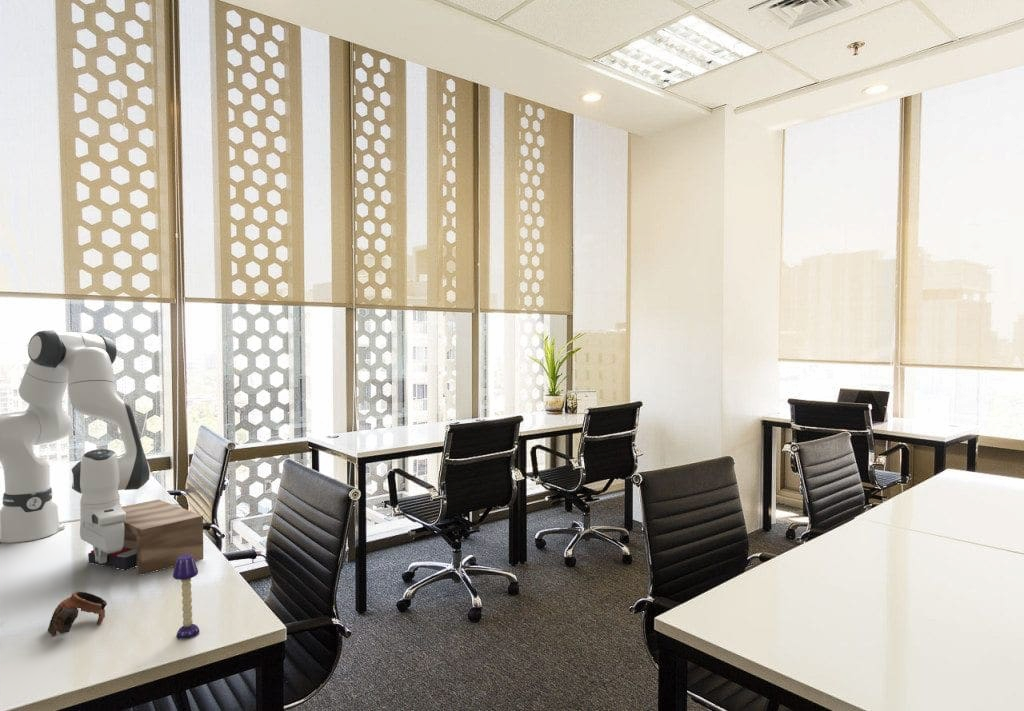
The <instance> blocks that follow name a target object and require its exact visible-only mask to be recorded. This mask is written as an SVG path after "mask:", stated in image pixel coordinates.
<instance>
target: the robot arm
mask: <svg viewBox="0 0 1024 711" xmlns="http://www.w3.org/2000/svg"><path fill="white" fill-rule="evenodd" d="M117 353H118V350H117V345H116V344H115V342H114V341H113V339H111V338H109V337H107V336H104V335H99V334H98V335H96V334H90V333H85V332H78V331H75V332H73V331H55V330H41V331H37V332H36V333H34V334H33V335H32V337H31V338H30V339H29V342H28V346H27V354H28V357H29V359H30V360H29V362H28V364H27V366H26V369H25V371H24V374H23V376H22V379H21V381H20V384H19V387H18V395H19V397H21V399H22V400H23V401H24V402H25V403H27V404H28V407H27V408H26V410H24V411H17V412H15V411H14V412H5V413H0V464H1V466H2V470H3V477H4V478H3V479H4V493H3V494H2V506H1V509H0V542H1V543H21V542H28V541H34V540H38V539H43V538H47V537H50V536H52V535H54V534H56V533H57V532H59V531H61V530H64V529H65V528H66V527H65V524H62V523H60V517H59V507H58V504H57V503H56V502H54V501H52V499H53V487H51V471H50V470H51V468H50V464H49V462H47V461H46V460H45V459H43V458H41V457H37V456H36V455H35V452H34V449H33V446H38V445H44V444H49V443H53V442H56V441H60V440H61V439H64V438H66V437H67V436H68V435H70V433H71V430H72V426H73V422H72V418H71V416H70V415H69V414H68V413H67V411H66V410H64V408H63V398H64V394H65V393H66V392H65V391H66V388H68V396H69V402H70V405H71V406H72V407H73V408H74V409H75V410H76V411H77V412H79V413H81V414H83V415H85V416H88V417H90V418H91V417H92V418H95V419H99V420H104V421H105V422H106V421H107V422H109V423H112V424H113V425H115V426H116V427H118V429H119V431H120V435H121V438H122V442H123V445H124V450H125V454H122V455H119V456H118V455H117V453H116V451H114V450H111V449H105V448H100V449H92V450H90V451H89V450H88V451H87V452H85V453H84V454H83V455H82V458H81V460H80V461H79V462H77V463H76V464H75V465H74V466H73V467H72V468H71V474H72V485H71V489H72V490H73V491H75V492H77V493H79V494H81V498H80V502H79V506H80V508H79V511H80V514H79V515H80V520H79V521H80V523H79V537H80V539H81V540H82V541H84V542H86V543H87V544H90V545H91V546H92V550H94V553H95V561H97V562H98V563H100V564H102V563H106V562H107V555H108V554H110V553H114V552H118V551H121V550H122V548H123V546H124V523H123V521H125V520H126V513H125V511H124V510H123V509H122V507H123V506H122V504H121V498H120V494H119V491H122V490H124V491H130V490H133V491H135V490H139V489H140V488H142V487H143V486H144V485H145V484H146V483H148V481H149V480H150V476H151V467H150V464H149V462H148V459H147V456H146V454H145V451H144V447H143V444H142V441H141V437H140V434H139V428H138V426H137V422H136V419H135V417H134V413H133V410H132V407H131V406H130V403H129V402H128V401H127V400H124V399H122V398H121V397H120V395H119V394H118V392H117V390H116V384H115V374H114V369H113V368H114V367H113V364H114V363H115V361H116V359H117Z"/></svg>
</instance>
